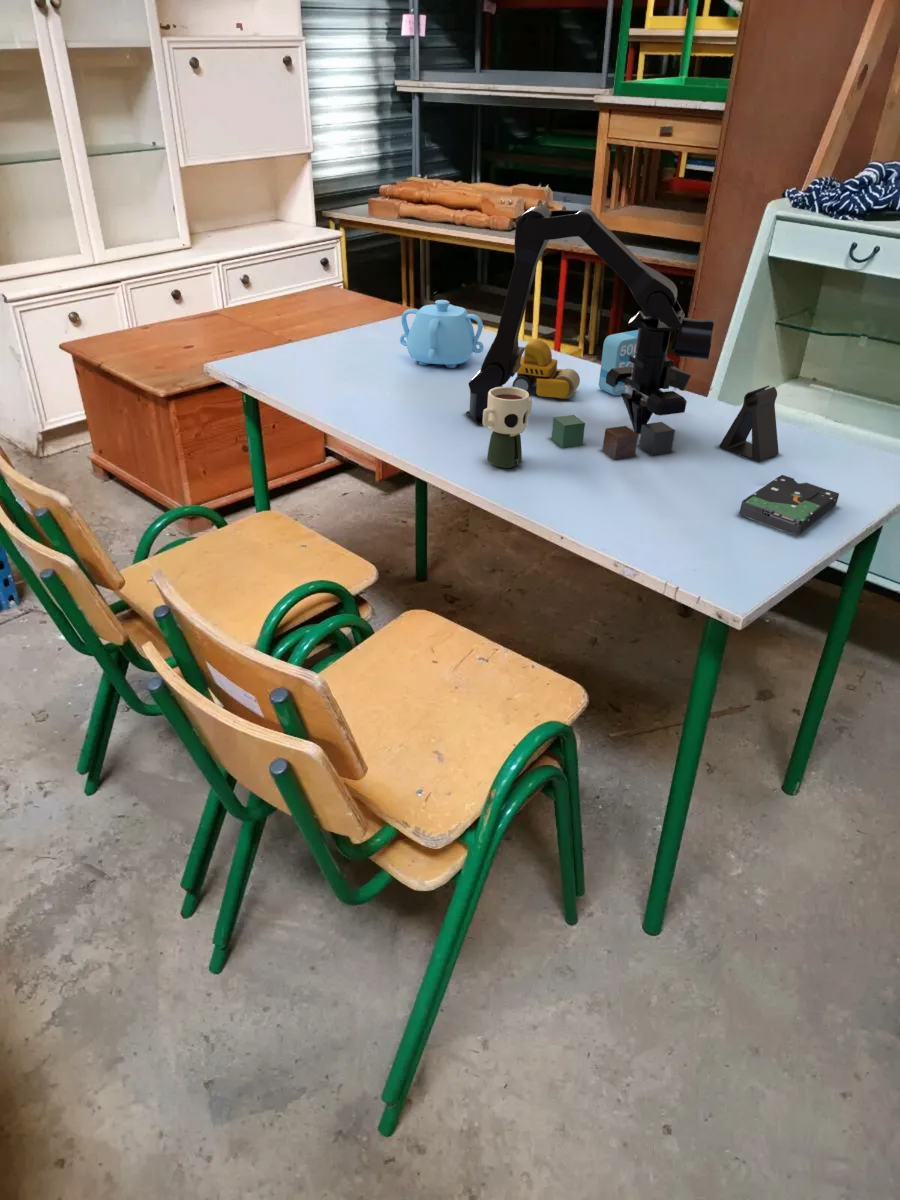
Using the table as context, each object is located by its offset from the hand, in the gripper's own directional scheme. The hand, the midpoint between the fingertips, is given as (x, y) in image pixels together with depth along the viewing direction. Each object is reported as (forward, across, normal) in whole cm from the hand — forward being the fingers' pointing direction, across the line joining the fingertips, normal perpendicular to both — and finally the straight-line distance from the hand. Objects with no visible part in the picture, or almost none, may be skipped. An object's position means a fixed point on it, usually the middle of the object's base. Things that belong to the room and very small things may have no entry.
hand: (637, 433), depth 167 cm
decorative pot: (+2, +56, +19) cm, 59 cm away
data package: (+1, +25, -12) cm, 28 cm away
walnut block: (+1, -5, +7) cm, 9 cm away
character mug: (+1, -2, +29) cm, 29 cm away
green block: (+1, +3, +14) cm, 14 cm away
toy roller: (+1, +29, +6) cm, 29 cm away
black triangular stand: (+1, -12, -17) cm, 21 cm away
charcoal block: (+1, -6, 0) cm, 6 cm away
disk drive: (+1, -35, -7) cm, 35 cm away
